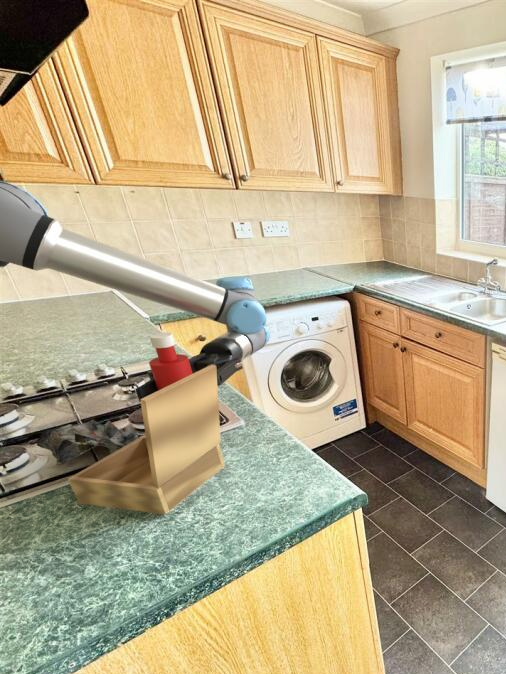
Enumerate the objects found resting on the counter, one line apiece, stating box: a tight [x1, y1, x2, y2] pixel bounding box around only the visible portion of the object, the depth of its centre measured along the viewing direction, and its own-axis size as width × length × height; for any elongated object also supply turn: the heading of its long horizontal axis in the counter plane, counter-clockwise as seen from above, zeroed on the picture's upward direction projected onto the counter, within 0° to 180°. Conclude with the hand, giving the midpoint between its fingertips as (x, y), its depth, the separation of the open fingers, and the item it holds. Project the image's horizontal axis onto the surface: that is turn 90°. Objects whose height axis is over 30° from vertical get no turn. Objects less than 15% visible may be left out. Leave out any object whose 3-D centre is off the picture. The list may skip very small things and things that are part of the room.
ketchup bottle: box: [148, 332, 193, 391], centre depth 83 cm, size 6×6×21 cm
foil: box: [36, 418, 146, 466], centre depth 82 cm, size 12×11×15 cm
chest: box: [67, 434, 226, 515], centre depth 75 cm, size 16×14×6 cm
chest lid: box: [139, 365, 222, 488], centre depth 69 cm, size 16×14×1 cm
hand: (158, 395), depth 79 cm, fingers closed on ketchup bottle, 6 cm apart
